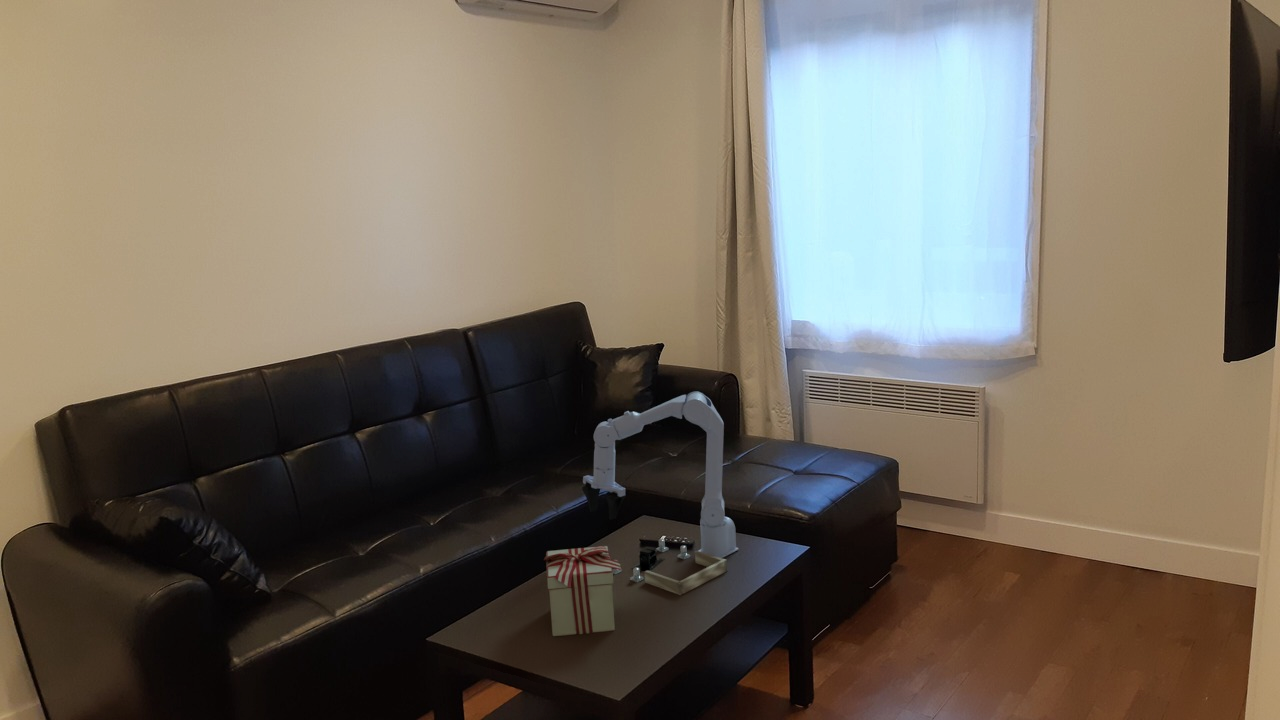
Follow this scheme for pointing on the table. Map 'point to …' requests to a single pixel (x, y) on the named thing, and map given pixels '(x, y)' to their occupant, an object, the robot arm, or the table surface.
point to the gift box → (581, 590)
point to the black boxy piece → (648, 559)
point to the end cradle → (680, 587)
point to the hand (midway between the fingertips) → (603, 514)
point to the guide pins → (661, 549)
